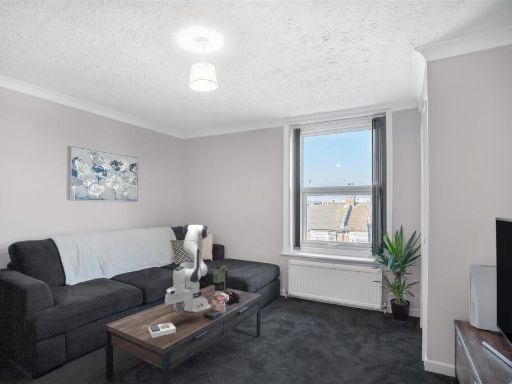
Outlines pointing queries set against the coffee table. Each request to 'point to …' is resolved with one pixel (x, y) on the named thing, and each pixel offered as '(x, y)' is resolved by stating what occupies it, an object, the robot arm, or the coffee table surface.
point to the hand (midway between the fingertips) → (179, 307)
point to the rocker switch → (179, 307)
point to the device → (220, 278)
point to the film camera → (233, 297)
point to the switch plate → (161, 329)
